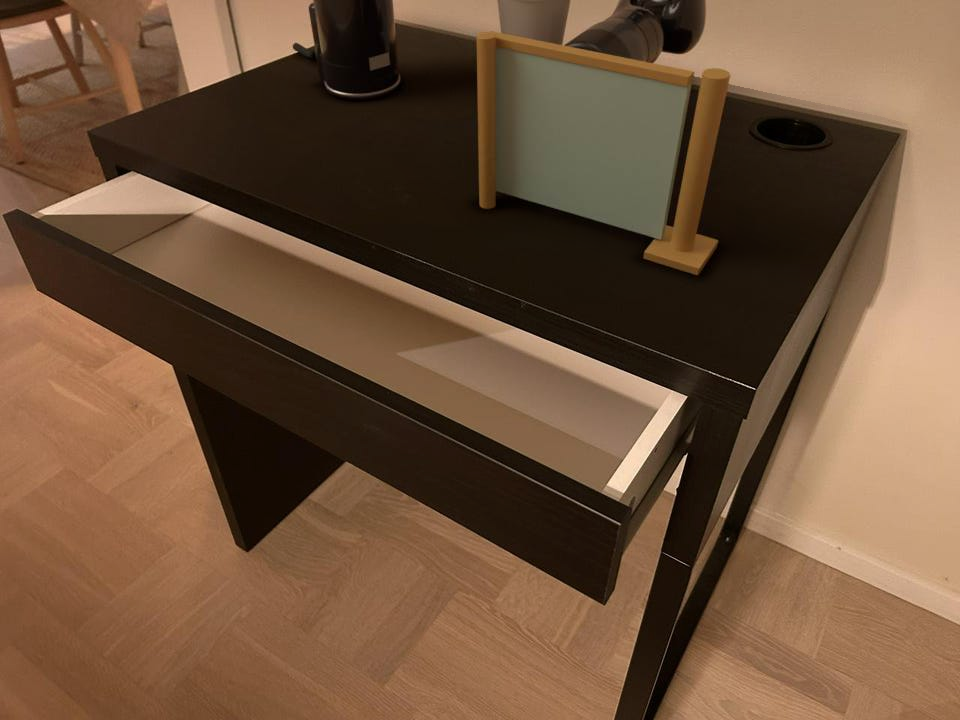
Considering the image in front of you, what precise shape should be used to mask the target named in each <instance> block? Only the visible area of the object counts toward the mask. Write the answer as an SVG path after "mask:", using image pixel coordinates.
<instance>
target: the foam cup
mask: <svg viewBox="0 0 960 720" xmlns="http://www.w3.org/2000/svg"><path fill="white" fill-rule="evenodd" d="M570 5H571V0H497V11H498V17H499V18H498V19H499V26H500V33H503V34H508V35H513V36H518V37H523V38H528V39H533V40H538V41H543V42H548V43H553V44H558V45H563V42H564V37H565V32H566V27H567V21H568V16H569V10H570Z"/></svg>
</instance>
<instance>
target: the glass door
mask: <svg viewBox="0 0 960 720" xmlns="http://www.w3.org/2000/svg"><path fill="white" fill-rule="evenodd" d="M490 32H491V33H494V34H495V35H496V192H499V193H501V194H505V195H507V196H511V197H516V198H518V199H521V200H525V201H528V202H532V203H536V204H538V205H543V206H546V207H549V208H553V209H556V210H559V211H562V212H566V213H568V214H573V215H575V216H579V217H583V218H585V219H590V220H593V221H596V222H599V223H603V224H606V225H609V226H613V227H616V228H619V229H623V230H627V231H629V232H633V233H637V234H640V235H644V236H647V237H650V238H654V239H655V238H657V239H660V240H661V239H662V238H663V237H664V235H665V229H666V225H667V223H668V218H669V211H670V207H671V201H672V195H673V189H674V184H675V180H676V179H675V178H676V173H677V169H678V161H679V156H680V151H681V145H682V140H683V134H684V129H685V123H686V118H687V112H688V106H689V101H690V94H691V90H692V86H693V85H692V84H693V81H694V78H695V77H694V76H695V71H693V70H689V69H684V68H678V67H673V66H668V65H663V64H659V63H655V62H654V63H649V62H644V61H639V60H634V59H629V58H624V57H619V56H614V55H609V54H604V53H599V52H594V51H589V50H584V49H578V48H573V47H568V46H564V45H563V44H562V45H558V44H553V43H548V42H543V41H538V40H533V39H528V38H523V37H518V36H513V35H508V34H503V33H501V32H499V31H493V30H491V31H490Z"/></svg>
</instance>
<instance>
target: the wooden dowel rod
mask: <svg viewBox="0 0 960 720" xmlns="http://www.w3.org/2000/svg"><path fill="white" fill-rule="evenodd" d="M476 79H477V81H476V87H477V89H476V91H477V141H478V142H477V144H478V145H477V148H478V153H477V154H478V203H479V205H478V206H479V207H480V208H482V209H484V210H490V209H493V208H495V207H496V205H497V191H496V35H495V34H494V33H491V31H490V32H489V31H483V32H479V33H477V34H476Z"/></svg>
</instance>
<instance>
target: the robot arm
mask: <svg viewBox="0 0 960 720" xmlns="http://www.w3.org/2000/svg"><path fill="white" fill-rule="evenodd" d="M706 1H707V0H618V2H617V5H616V6H615V8H614V10H613V12H612V13H611V14H610V16H608V17H607V18H606V19H604V20H602V21H600V22H597V23H594V24H593V25H591V26H590V27H588V28H587V29H585V30H584V31H582V32H581V33H579V34H578V35H577V36H575V37H574V38H573V39H571V40H570V41H568V42H567V43H565V44H564V45H563V46H568V47H573V48H578V49H584V50H589V51H594V52H599V53H604V54H609V55H614V56H619V57H624V58H629V59H634V60H639V61H644V62H649V63H654V64H655V62H656V61H657V59H659V57H660V55H661V53H665V54H673V55H684V54H687V53H689V52H690V51H692V50H693V49H694V48H695V47H696V46H697V44H698V43H699V42H700V40H701V39H702V37H703V34H704V31H705V27H706V22H707V2H706ZM394 9H395V8H394V0H312V2H311V3H310V4H309V6H308V14H309V21H310V27H311V32H312V38H313V45H314V46H311V48H310V49H308V48H306V47H305V46H304V45H301V44H300V43H298V42H294V43H293V44H292V49H293V50H294V51H295V52H297V53H299V54H300V55H301V56H303V57H305V58H306V59H307V58H308V59H311V60H314V59H316V63H317V70H318V76H319V83H320V85H321V86H324V87H325V90H326V92H327V93H329V94H330V95H332V96H334V97H337V98H341V99H345V100H369V99H376V98H380V97H383V96H386V95H390V94H391V93H394V92H395V91H396V90H397V89H398V88H399V87H400V86H401V74H400V70H399V57H398V45H397V43H398V42H397V34H396V23H395V22H396V21H395V11H394Z"/></svg>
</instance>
